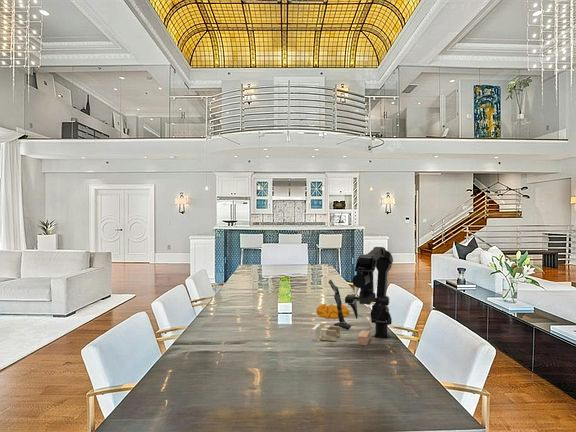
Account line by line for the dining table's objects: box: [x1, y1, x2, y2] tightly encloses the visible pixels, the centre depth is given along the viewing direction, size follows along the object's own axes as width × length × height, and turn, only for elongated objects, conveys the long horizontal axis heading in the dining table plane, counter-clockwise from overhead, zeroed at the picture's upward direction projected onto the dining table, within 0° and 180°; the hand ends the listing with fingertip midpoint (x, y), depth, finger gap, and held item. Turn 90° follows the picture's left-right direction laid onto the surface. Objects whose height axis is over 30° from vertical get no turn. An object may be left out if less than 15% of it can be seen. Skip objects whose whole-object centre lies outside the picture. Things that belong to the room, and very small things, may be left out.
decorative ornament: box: [316, 303, 350, 320], centre depth 247 cm, size 19×5×30 cm
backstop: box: [311, 323, 322, 341], centre depth 198 cm, size 10×2×5 cm, turn 161°
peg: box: [357, 329, 371, 346], centre depth 190 cm, size 4×10×4 cm, turn 161°
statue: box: [328, 279, 352, 332], centre depth 214 cm, size 10×12×25 cm
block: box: [320, 324, 341, 342], centre depth 196 cm, size 9×7×5 cm
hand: (367, 319), depth 182 cm, fingers open, 9 cm apart
